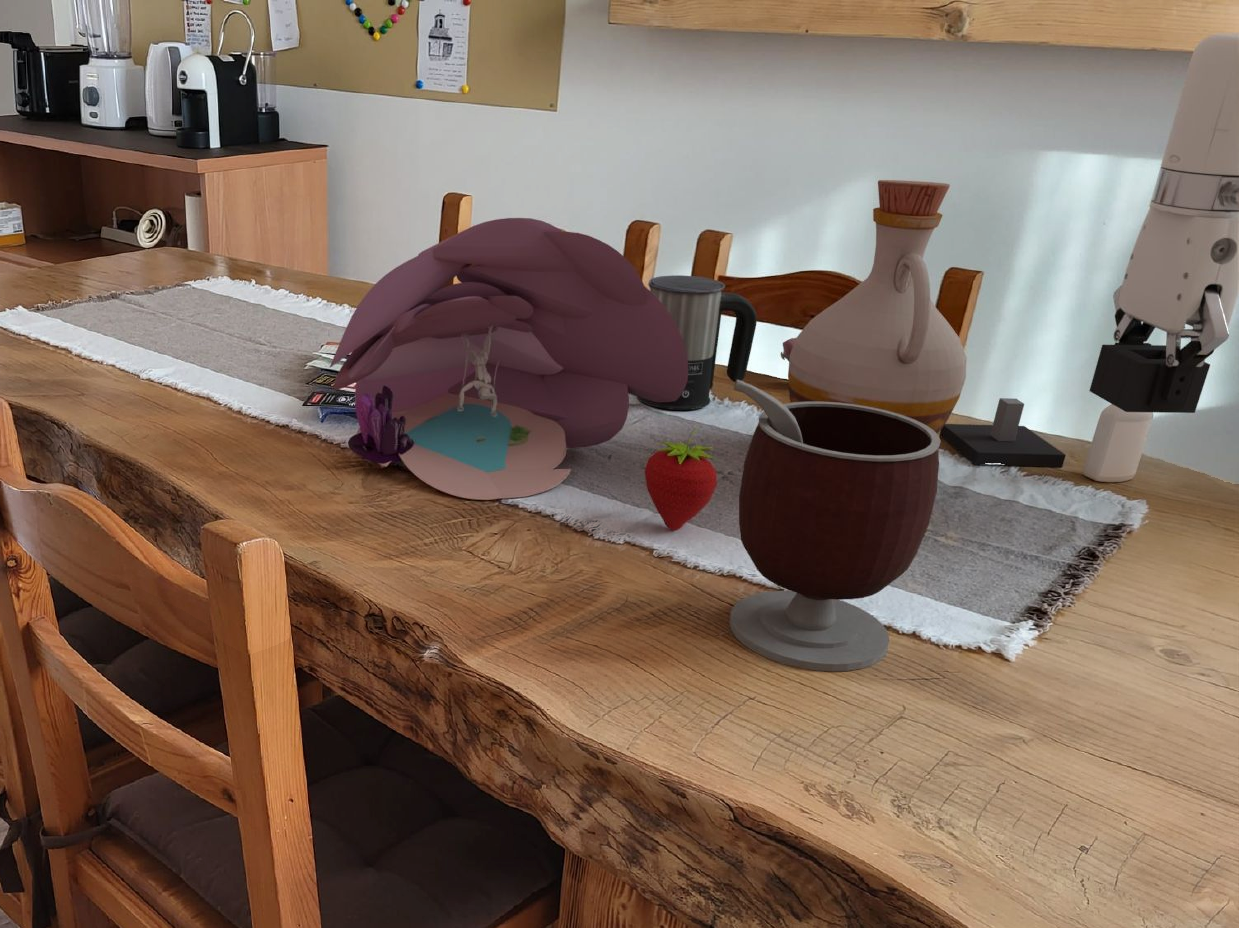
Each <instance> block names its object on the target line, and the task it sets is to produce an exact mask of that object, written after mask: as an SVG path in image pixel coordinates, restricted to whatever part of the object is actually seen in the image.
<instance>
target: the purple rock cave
mask: <svg viewBox="0 0 1239 928" xmlns="http://www.w3.org/2000/svg"><path fill="white" fill-rule="evenodd" d="M454 278H456V279H457V281H458V282H457V283H453V284H449V285H447V283H449V282H450V281H451V280H453V279H454ZM346 357H347V358H346ZM345 358H346V360H345V361H344V363H342V366H340V367H341V368H340V369H339V371H338V373H337V375H336V377H335V380H334V382H333V387H332V389H333V390H335V391H337V390H341V389H343V388H347V387H348V386H351V385H353V384H355V390H354V406H355V407H354V408H355V414H356V419H357V422H358V427H359V428H358V429H357V433H356V434H354V435H352V436H351V437H349V439H348V441H347V445H348V448H349V450H350V451H352V452H353V453H354V454H356V455H358V456H359V457H361V458H364V459H365V460H367V461H370V462H372V463H376V464H378V465H379V466H380V468H381V469H383V468H385V467H388V466H389V465H391V464H397V463H400V462H402V463H403V464H404V465H405V466H406V467H407V469H408V470H409V471H410V472H411V473H412V474H413V475H414V476H416V477H417V478H418V479H419V480H421V481H422V482H424V483H425V484H427V485H428V486H430V487H432V488H434V489H436V490H438V491H440V492H442V493H445V494H448V495H450V496H455V497H458V498H463V499H468V500H478V501H479V500H480V501H490V500H498V499H499V500H500V499H512V498H522V497H523V498H524V497H529V496H534V495H538V494H541V493H543V492H546V491H549V490H552V489H554V488H555V487H557V486H558V485H560V484H561V483H562V482H564V480H566V479H567V478H568V476H569V475H570V473H571V468H557V467H559V465H560V464H561V463H562V462H563V461H564V460H565V457H566V455H567V450H568V449H583V448H588V447H593V446H598V445H601V444H604V443H606V442H608V441H610V440H612V439H613V438H614V437H616V435H617V434H619V432H621V431H622V430H623V428H624V426H625V424H626V421H627V418H628V413H629V407H630V397H629V395H632V396H635V397H637V396H638V397H641V398H644V399H647V400H651V401H654V402H672V401H676V400H677V399H678V398H679V397H680V396H681V394H682V393H683V391H684V389H685V387H686V384H687V380H688V359H687V353H686V349H685V345H684V341H683V338H682V336H681V334H680V332H679V330H678V328H677V325H676V323H675V321H674V320H673V318H672V316H671V315H670V313H669V312H668V310H667V309H666V308H665V307H664V305H663V304H662V303H661V302H660V301H659V300H658V298H657V297H656V296H655V295H654V294H653V293H652V292H651V291H650V289H649V288H648V287H646V286H645V284H644V282H643V280H642V278H641V276H640V274H639V273H638V271H637V270H636V268H635V267H634V266H633V265H632V263H631V262H630V261H629V259H628V258H626V257H625V256H624V255H623V254H622V253H620V251H618V250H617V249H615V248H614V247H613V246H611V245H609V244H608V243H606V242H603V241H602V240H600V239H598V238H595V237H593V236H591V235H588V234H583V233H580V232H573V231H563V230H561V228H559V227H556V226H555V225H553V224H551V223H550V222H549V223H548V222H546V221H543V220H540V219H535V218H532V217H506V218H497V219H492V220H487V221H484V222H480V223H478V224H475V225H472V226H470V227H468V228H466V229H464V230H462V231H460V232H458V233H456V234H454V235H452V236H450V237H448V238H446V239H444V240H442V241H440V242H438V243H436V244H434V245H432V246H430V247H428V248H426V249H424V250H422V251H420V252H419V253H418V255H416V256H414V257H412V258H411V259H409V260H406V261H405V262H403V263H401V264H400V265H398V266H396V267H394V268H393V269H392V270H391V271H389V272H388V273H386V274H385V275H384V276H383V277H381V278H380V279H379V280H378V281H377V282H376V283H375V284H374V285H373V286H372V287H371V288H370V289H369V291H368V292H367V293H366V294H365V295H364V296H363V298H362V299H361V301H360V302H359V303H358V305H357V307H356V309H355V310H354V311H353V313H352V315H351V317H350V319H349V321H348V323H347V325H346V327H345V329H344V332H343V334H342V337H341V339H340V341H339V344H338V346H337V348H336V350H335V353H334V355H333V358H332V360H331V362H330V365H329V368H330V369H331V368H332V367H334V366H335V365H337V363H339V362H340V361H342V360H344V359H345Z"/></svg>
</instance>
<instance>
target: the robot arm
mask: <svg viewBox="0 0 1239 928" xmlns="http://www.w3.org/2000/svg"><path fill="white" fill-rule="evenodd" d="M1177 103H1178V104H1177V107H1176V111H1175V113H1174V114H1175V115H1174V117H1173V121H1172V125H1171V129H1170V130H1169V131H1170V132H1169V135H1168V139H1167V142H1166V146H1165V149H1164V152H1163V156H1162V160H1161V163H1160V167H1159V171H1158V175H1157V178H1156V181H1155V185H1154V188H1153V192H1152V196H1151V200H1150V203H1149V206H1148V207H1149V209H1148V211H1147V214H1146V216H1145V218H1144V219H1143V222H1142V225H1141V227H1140V230H1139V232H1138V234H1137V237H1136V240H1135V243H1134V246H1133V249H1132V252H1131V254H1130V258H1129V261H1128V263H1127V266H1126V270H1125V273H1124V276H1123V280H1122V284H1121V285H1120V286H1119V287H1118V288H1117V289H1116V290H1115V291H1114V292H1113V294H1112V295H1113V297H1112V298H1113V303H1114V309H1115V314H1114V320H1115V321H1114V322H1115V325H1116V328H1115V330H1114V331H1113V337H1112V339H1113V341H1114V345H1152V344H1151V343H1149V342H1147V341H1148V340H1149V338H1150V337H1151V336H1152V334H1153V332H1154V330H1155V329H1158V330H1160V331H1163V332H1165V333H1166V339H1165V340H1166V341H1165V345H1166V364H1159V367H1158V370H1157V373H1156V377H1155V380H1154V383H1153V386H1152V390H1151V393H1150V396H1149V400H1148V403H1147V406H1148V407H1149V408H1151V409H1159V410H1181V409H1183V408H1184V407H1185V405H1186V402H1187V399H1188V396H1189V393H1190V390H1191V387H1192V383H1193V380H1194V377H1195V374H1196V371H1197V368H1198V367H1202V366H1203V364H1204V362H1206V359H1207V358H1209V357H1211V355H1213V353H1214V351H1215V350H1217V349H1218V348H1219V347H1220V346H1221V345H1222V344H1223V343H1225V342H1227V340H1228V339H1229V337H1230V330H1229V325H1230V323H1231V320H1232V317H1233V315H1234V311H1235V307H1236V304H1237V301H1238V297H1239V32H1236V33H1234V32H1227V33H1214V34H1211V35H1208V36H1206V37H1204V38H1202V40H1201V41H1199V43H1198V44H1197V45H1196V47H1195V48H1194V50H1193V52H1192V55H1191V58H1190V61H1189V65H1188V68H1187V71H1186V75H1185V78H1184V82H1183V86H1182V89H1181V93H1180V96H1179V100H1178V102H1177ZM1186 325H1187V326H1190V327H1192V328H1191V329H1190V328H1186ZM1182 339H1190V341H1189V342H1188V343H1187V344H1185V345H1184V346H1183V347H1182V346H1181V345H1182Z"/></svg>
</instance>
